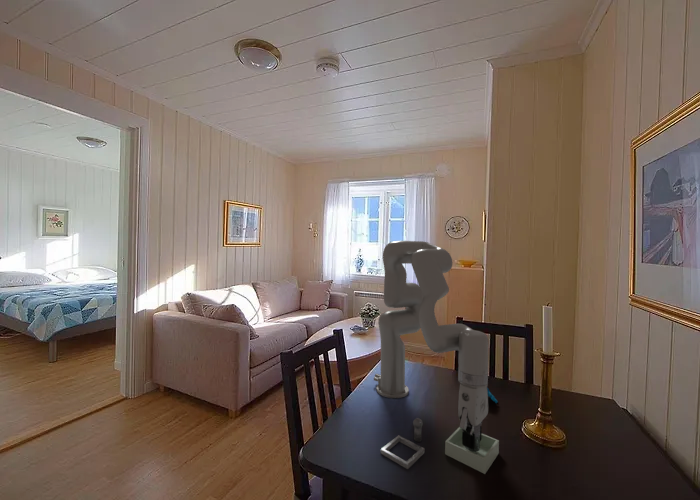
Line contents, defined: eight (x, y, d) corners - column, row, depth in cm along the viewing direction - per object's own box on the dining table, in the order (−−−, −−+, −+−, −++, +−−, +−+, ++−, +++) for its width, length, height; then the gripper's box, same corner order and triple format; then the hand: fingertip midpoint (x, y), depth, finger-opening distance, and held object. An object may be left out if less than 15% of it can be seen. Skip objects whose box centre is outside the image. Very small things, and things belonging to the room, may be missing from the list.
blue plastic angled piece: (502, 404, 107) (480, 381, 110) (489, 415, 107) (467, 392, 110) (495, 394, 118) (475, 373, 120) (483, 404, 118) (464, 383, 121)
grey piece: (380, 453, 84) (380, 431, 84) (407, 431, 94) (407, 411, 94) (407, 469, 78) (407, 445, 78) (433, 444, 88) (433, 422, 88)
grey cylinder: (476, 453, 81) (477, 421, 81) (461, 447, 84) (462, 415, 84) (482, 446, 84) (482, 415, 84) (467, 440, 87) (468, 409, 87)
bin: (445, 454, 84) (445, 441, 83) (461, 436, 91) (461, 424, 91) (485, 474, 76) (485, 459, 76) (498, 453, 84) (498, 440, 84)
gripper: (475, 391, 75) (474, 465, 75) (497, 371, 87) (496, 434, 87) (446, 382, 80) (445, 451, 80) (471, 364, 92) (470, 424, 93)
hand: (471, 441), depth 84 cm, fingers closed on grey cylinder, 4 cm apart
